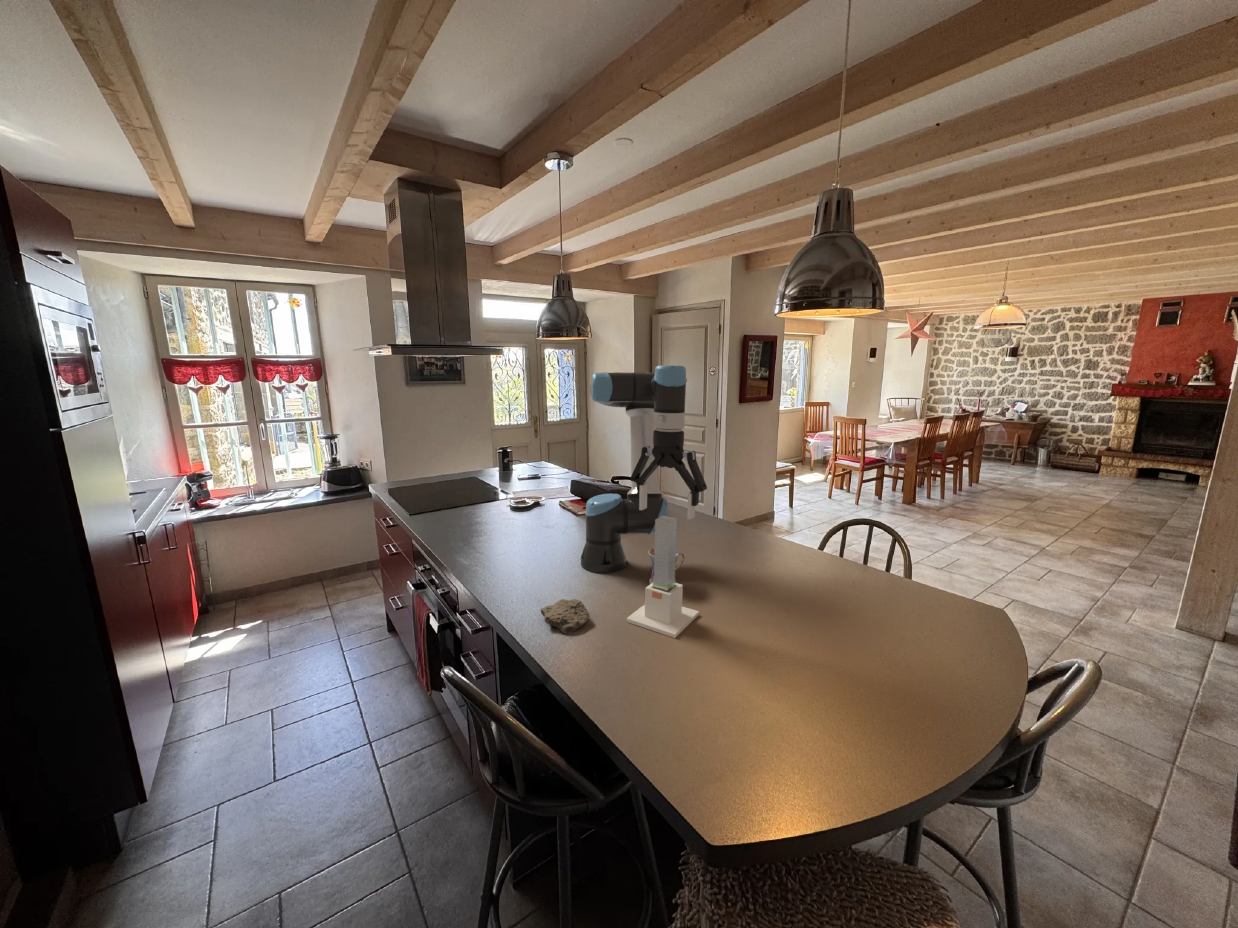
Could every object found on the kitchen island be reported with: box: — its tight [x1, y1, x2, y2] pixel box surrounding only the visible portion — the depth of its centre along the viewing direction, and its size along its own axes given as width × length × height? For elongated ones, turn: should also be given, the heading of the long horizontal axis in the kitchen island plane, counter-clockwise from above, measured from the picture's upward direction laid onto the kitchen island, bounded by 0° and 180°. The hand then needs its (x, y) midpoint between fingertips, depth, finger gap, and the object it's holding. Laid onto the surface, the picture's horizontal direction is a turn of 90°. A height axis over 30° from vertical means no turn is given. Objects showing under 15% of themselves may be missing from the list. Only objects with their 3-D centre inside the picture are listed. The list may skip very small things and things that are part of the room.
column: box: [653, 515, 678, 593], centre depth 126 cm, size 4×4×20 cm
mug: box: [647, 547, 685, 585], centre depth 149 cm, size 12×9×11 cm
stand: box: [626, 582, 700, 639], centre depth 128 cm, size 14×14×9 cm
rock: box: [540, 598, 590, 635], centre depth 127 cm, size 11×12×4 cm
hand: (666, 513), depth 124 cm, fingers open, 13 cm apart
